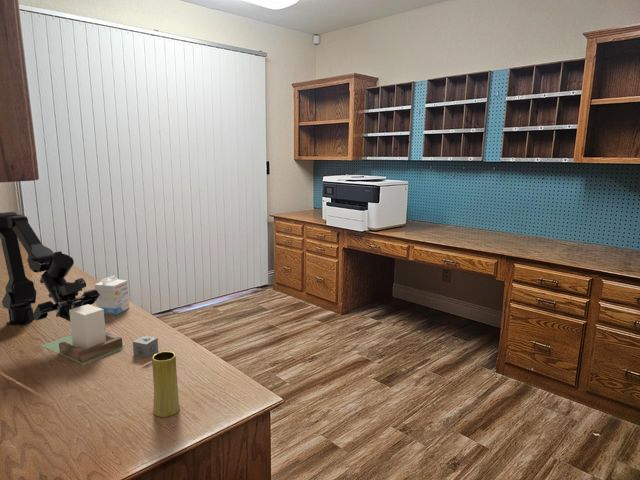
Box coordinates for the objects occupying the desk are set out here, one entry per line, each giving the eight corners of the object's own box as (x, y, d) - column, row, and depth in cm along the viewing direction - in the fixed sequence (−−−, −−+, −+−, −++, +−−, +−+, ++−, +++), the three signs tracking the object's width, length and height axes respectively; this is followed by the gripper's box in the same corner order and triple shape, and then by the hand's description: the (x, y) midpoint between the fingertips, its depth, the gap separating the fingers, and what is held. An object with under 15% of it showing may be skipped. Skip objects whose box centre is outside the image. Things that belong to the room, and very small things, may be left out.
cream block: (73, 349, 134) (69, 309, 131) (91, 342, 139) (88, 304, 136) (88, 355, 130) (84, 315, 127) (106, 348, 135) (103, 309, 132)
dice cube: (147, 359, 130) (146, 344, 129) (133, 356, 131) (132, 341, 130) (158, 352, 134) (157, 337, 133) (145, 350, 136) (144, 335, 135)
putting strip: (41, 346, 136) (41, 345, 136) (84, 331, 148) (84, 330, 148) (83, 366, 124) (83, 364, 124) (126, 348, 136) (126, 347, 136)
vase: (157, 403, 107) (154, 350, 105) (182, 402, 108) (180, 349, 105) (149, 418, 102) (146, 362, 99) (176, 417, 102) (174, 361, 99)
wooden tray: (59, 352, 131) (58, 343, 131) (99, 337, 142) (99, 329, 142) (82, 362, 125) (81, 353, 125) (122, 346, 136) (122, 337, 136)
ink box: (115, 315, 163) (113, 281, 160) (96, 313, 164) (93, 279, 162) (129, 308, 171) (127, 275, 168) (111, 306, 173) (108, 273, 170)
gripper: (33, 278, 127) (58, 322, 123) (94, 265, 142) (117, 303, 139) (23, 299, 132) (46, 341, 129) (82, 284, 148) (104, 321, 145)
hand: (80, 325), depth 135 cm, fingers closed, pressing on cream block
